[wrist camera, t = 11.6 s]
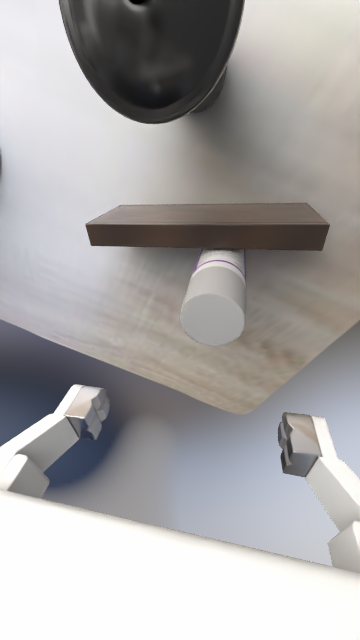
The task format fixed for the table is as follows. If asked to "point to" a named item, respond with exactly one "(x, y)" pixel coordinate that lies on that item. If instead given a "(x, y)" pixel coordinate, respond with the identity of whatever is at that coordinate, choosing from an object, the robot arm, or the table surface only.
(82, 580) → the robot arm
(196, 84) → the drinking cup
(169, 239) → the bar
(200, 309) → the container
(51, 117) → the table surface
